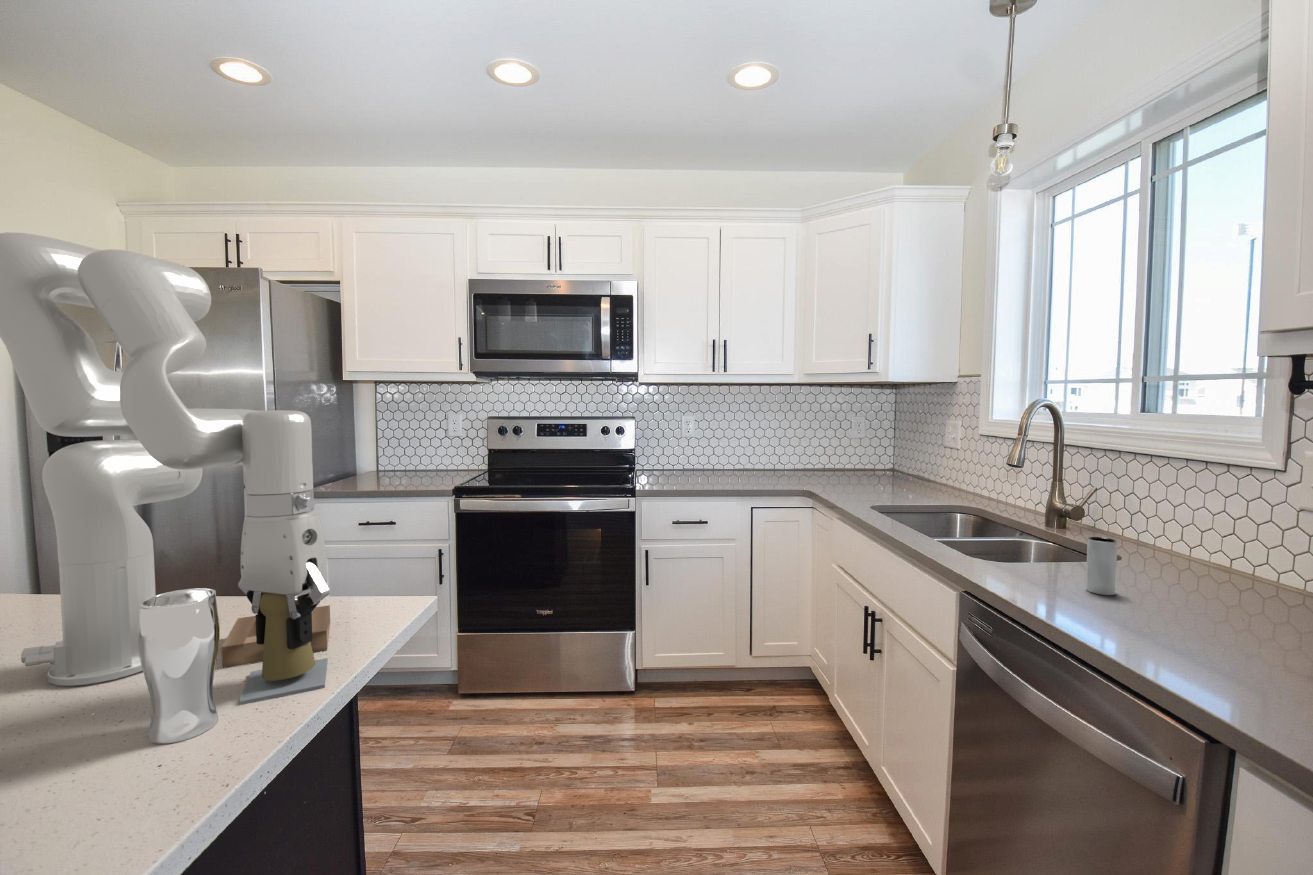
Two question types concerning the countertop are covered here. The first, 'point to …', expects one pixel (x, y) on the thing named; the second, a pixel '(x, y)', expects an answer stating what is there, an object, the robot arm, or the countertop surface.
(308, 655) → the olive rounded peg
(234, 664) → the wooden square frame
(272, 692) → the rubber mat
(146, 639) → the beer glass
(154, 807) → the countertop surface
